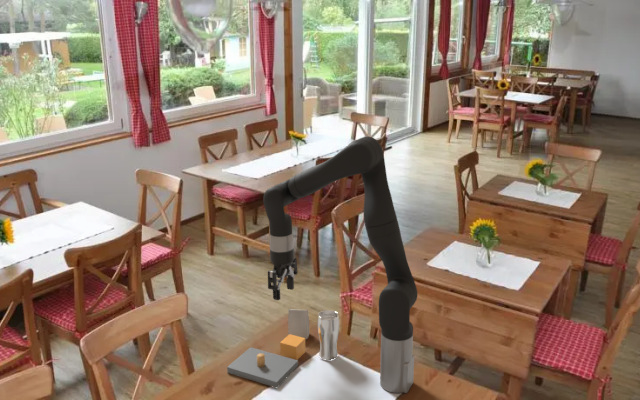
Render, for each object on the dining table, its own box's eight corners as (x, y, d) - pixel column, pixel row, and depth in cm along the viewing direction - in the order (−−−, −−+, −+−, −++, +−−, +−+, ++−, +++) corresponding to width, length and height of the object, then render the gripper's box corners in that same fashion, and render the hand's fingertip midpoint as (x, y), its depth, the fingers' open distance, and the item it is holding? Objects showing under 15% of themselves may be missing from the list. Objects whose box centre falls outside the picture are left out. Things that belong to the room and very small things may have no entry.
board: (298, 366, 187) (297, 350, 186) (276, 387, 176) (276, 371, 175) (250, 352, 195) (249, 337, 194) (227, 372, 184) (226, 357, 182)
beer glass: (339, 350, 196) (339, 309, 191) (338, 362, 189) (338, 320, 185) (318, 349, 196) (318, 309, 192) (316, 361, 190) (316, 319, 185)
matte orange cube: (305, 351, 195) (305, 338, 194) (296, 360, 190) (296, 346, 189) (289, 347, 198) (289, 334, 196) (280, 356, 193) (280, 342, 191)
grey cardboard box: (307, 339, 203) (307, 312, 200) (288, 338, 204) (287, 312, 201) (309, 333, 207) (308, 307, 204) (290, 332, 207) (289, 306, 204)
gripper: (280, 256, 176) (282, 305, 181) (303, 241, 188) (304, 287, 193) (259, 252, 180) (261, 301, 184) (282, 237, 192) (285, 283, 196)
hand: (283, 294), depth 189 cm, fingers open, 8 cm apart
